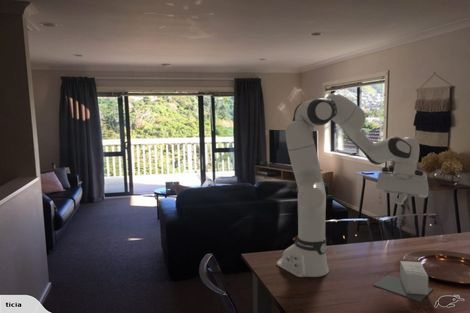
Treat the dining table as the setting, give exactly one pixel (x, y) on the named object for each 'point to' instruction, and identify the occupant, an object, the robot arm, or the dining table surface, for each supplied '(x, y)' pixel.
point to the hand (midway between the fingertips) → (399, 203)
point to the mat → (398, 287)
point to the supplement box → (414, 277)
